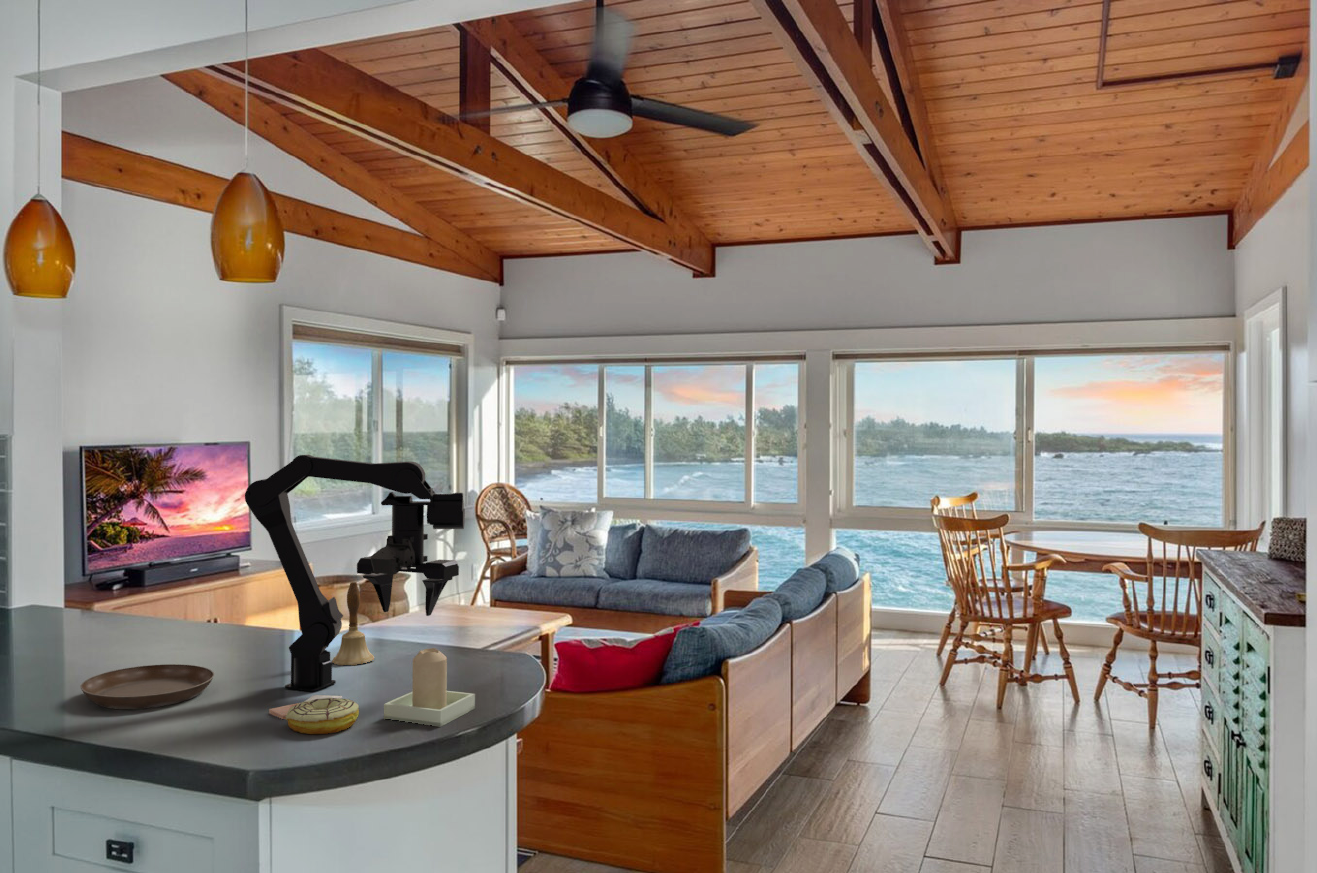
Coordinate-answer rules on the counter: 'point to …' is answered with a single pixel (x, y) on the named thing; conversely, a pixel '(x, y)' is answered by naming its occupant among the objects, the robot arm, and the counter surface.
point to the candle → (429, 679)
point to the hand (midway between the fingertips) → (407, 613)
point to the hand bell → (353, 635)
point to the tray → (408, 713)
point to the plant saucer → (147, 686)
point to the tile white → (321, 697)
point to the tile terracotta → (281, 711)
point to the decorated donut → (322, 715)
